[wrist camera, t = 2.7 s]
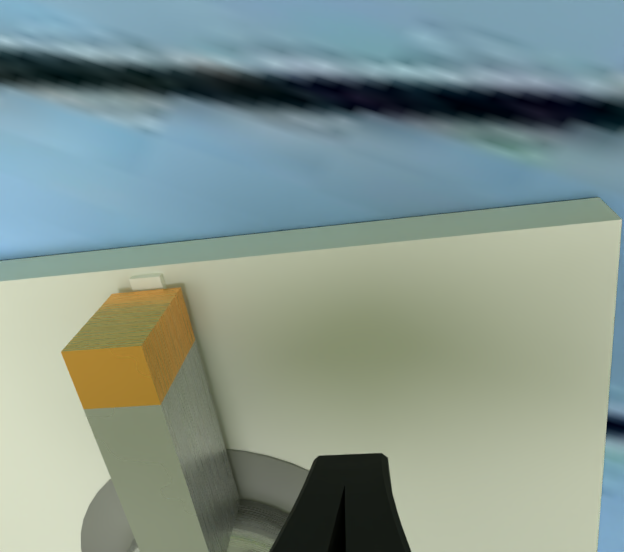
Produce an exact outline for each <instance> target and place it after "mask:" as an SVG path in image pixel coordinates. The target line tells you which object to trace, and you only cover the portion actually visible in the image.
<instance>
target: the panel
mask: <svg viewBox="0 0 624 552" xmlns="http://www.w3.org/2000/svg"><path fill="white" fill-rule="evenodd" d="M621 226H622V219H621V218H620V217H619V216H618V215H617V214H616V213H615V212H614V211H613V210H612V209H611V208H610V207H609V206H608V205H606V204H605V203H604V202H603V201H602V200H601V199H600V198H599V197H598V198H588V199H579V200H570V201H560V202H551V203H541V204H532V205H522V206H513V207H504V208H494V209H485V210H475V211H466V212H456V213H447V214H437V215H428V216H419V217H409V218H400V219H390V220H381V221H371V222H362V223H353V224H343V225H334V226H324V227H315V228H305V229H296V230H287V231H277V232H268V233H258V234H249V235H239V236H230V237H220V238H211V239H202V240H192V241H183V242H173V243H164V244H154V245H145V246H136V247H126V248H117V249H107V250H98V251H88V252H79V253H70V254H60V255H51V256H41V257H32V258H22V259H13V260H4V261H0V552H128V550H129V548H130V545H131V543H132V541H133V539H134V535H133V533H132V530H131V528H130V525H129V523H128V520H127V518H126V515H125V513H124V510H123V508H122V505H121V503H120V500H119V497H118V495H117V492H116V490H115V487H114V485H113V482H112V480H111V477H110V475H109V472H108V470H107V467H106V465H105V462H104V460H103V457H102V455H101V452H100V450H99V447H98V445H97V442H96V440H95V437H94V434H93V432H92V429H91V427H90V424H89V422H88V419H87V417H86V414H85V412H84V409H83V407H82V404H81V402H80V399H79V397H78V394H77V392H76V389H75V387H74V384H73V382H72V379H71V376H70V374H69V371H68V369H67V366H66V364H65V361H64V359H63V356H62V354H61V351H62V350H63V349H64V348H65V346H66V345H67V344H68V343H69V342H70V341H71V340H72V339H73V337H74V336H75V335H76V334H77V333H78V332H79V331H80V329H81V328H82V327H83V326H84V325H85V324H86V323H87V322H88V320H89V319H90V318H91V317H92V316H93V315H94V314H95V313H96V311H97V310H98V309H99V308H100V307H101V306H102V305H103V303H104V302H105V301H106V300H107V299H108V298H109V297H110V296H111V294H115V293H125V292H136V291H147V290H158V289H169V288H179V287H181V290H182V294H183V297H184V301H185V304H186V308H187V312H188V315H189V319H190V322H191V326H192V330H193V333H194V337H195V340H196V344H197V347H198V351H199V355H200V358H201V362H202V365H203V369H204V373H205V376H206V380H207V383H208V387H209V391H210V394H211V398H212V401H213V405H214V408H215V412H216V416H217V419H218V423H219V426H220V430H221V434H222V437H223V441H224V444H225V448H226V452H227V455H228V459H229V462H230V466H231V469H232V473H233V477H234V480H235V484H236V487H237V491H238V495H239V498H240V499H243V500H248V501H252V502H257V503H260V504H263V505H266V506H270V507H272V508H275V509H277V510H280V511H282V512H284V513H286V514H288V515H289V514H290V512H291V510H292V508H293V506H294V504H295V502H296V500H297V498H298V495H299V493H300V491H301V489H302V487H303V485H304V482H305V480H306V478H307V476H308V473H309V471H310V468H311V466H312V463H313V461H314V459H316V458H317V457H318V456H320V455H344V454H367V453H382V454H384V455H385V456H386V457H388V462H389V470H390V478H391V486H392V493H393V497H394V501H395V504H396V508H397V512H398V515H399V518H400V521H401V524H402V527H403V530H404V533H405V536H406V538H407V541H408V544H409V547H410V549H411V552H597V546H598V532H599V519H600V506H601V492H602V479H603V466H604V452H605V439H606V426H607V413H608V399H609V386H610V373H611V359H612V346H613V333H614V319H615V306H616V293H617V279H618V266H619V253H620V239H621Z"/></svg>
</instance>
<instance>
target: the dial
mask: <svg viewBox="0 0 624 552" xmlns="http://www.w3.org/2000/svg"><path fill="white" fill-rule="evenodd" d="M61 354H62V356H63V359H64V361H65V364H66V366H67V369H68V371H69V374H70V376H71V379H72V382H73V384H74V387H75V389H76V392H77V394H78V397H79V399H80V402H81V404H82V407H83V409H84V412H85V414H86V417H87V419H88V422H89V424H90V427H91V429H92V432H93V434H94V437H95V440H96V442H97V445H98V447H99V450H100V452H101V455H102V457H103V460H104V462H105V465H106V467H107V470H108V472H109V475H110V477H111V480H112V482H113V485H114V487H115V490H116V492H117V495H118V497H119V500H120V503H121V505H122V508H123V510H124V513H125V515H126V518H127V520H128V523H129V525H130V528H131V530H132V533H133V535H134V539H133V541H132V543H131V545H130V548H129V550H128V552H269V551H270V549H271V547H272V545H273V543H274V542H275V540H276V538H277V536H278V534H279V532H280V531H281V529H282V527H283V525H284V523H285V521H286V519H287V518H288V516H289V515H288V514H286V513H284V512H282V511H280V510H277V509H275V508H272V507H270V506H266V505H263V504H260V503H257V502H252V501H248V500H243V499H240V498H239V495H238V491H237V487H236V484H235V480H234V477H233V473H232V469H231V466H230V462H229V459H228V455H227V452H226V448H225V444H224V441H223V437H222V434H221V430H220V426H219V423H218V419H217V416H216V412H215V408H214V405H213V401H212V398H211V394H210V391H209V387H208V383H207V380H206V376H205V373H204V369H203V365H202V362H201V358H200V355H199V351H198V347H197V344H196V340H195V337H194V333H193V330H192V326H191V322H190V319H189V315H188V312H187V308H186V304H185V301H184V297H183V294H182V290H181V287H179V288H169V289H158V290H147V291H136V292H125V293H115V294H111V296H110V297H109V298H108V299H107V300H106V301H105V302H104V303H103V305H102V306H101V307H100V308H99V309H98V310H97V311H96V313H95V314H94V315H93V316H92V317H91V318H90V319H89V320H88V322H87V323H86V324H85V325H84V326H83V327H82V328H81V329H80V331H79V332H78V333H77V334H76V335H75V336H74V337H73V339H72V340H71V341H70V342H69V343H68V344H67V345H66V346H65V348H64V349H63V350H62V351H61Z"/></svg>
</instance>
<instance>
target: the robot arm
mask: <svg viewBox="0 0 624 552" xmlns="http://www.w3.org/2000/svg"><path fill="white" fill-rule="evenodd" d="M269 552H411V549H410V547H409V544H408V541H407V538H406V536H405V533H404V530H403V527H402V524H401V521H400V518H399V515H398V512H397V508H396V504H395V501H394V497H393V493H392V486H391V478H390V470H389V462H388V457H386V456H385V455H384V454H382V453H367V454H344V455H320V456H318V457H317V458H316V459H314V461H313V463H312V466H311V468H310V471H309V473H308V476H307V478H306V480H305V482H304V485H303V487H302V489H301V491H300V493H299V495H298V498H297V500H296V502H295V504H294V506H293V508H292V510H291V512H290V514H289V516H288V518H287V519H286V521H285V523H284V525H283V527H282V529H281V531H280V532H279V534H278V536H277V538H276V540H275V542H274V543H273V545H272V547H271V549H270V551H269Z"/></svg>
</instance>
